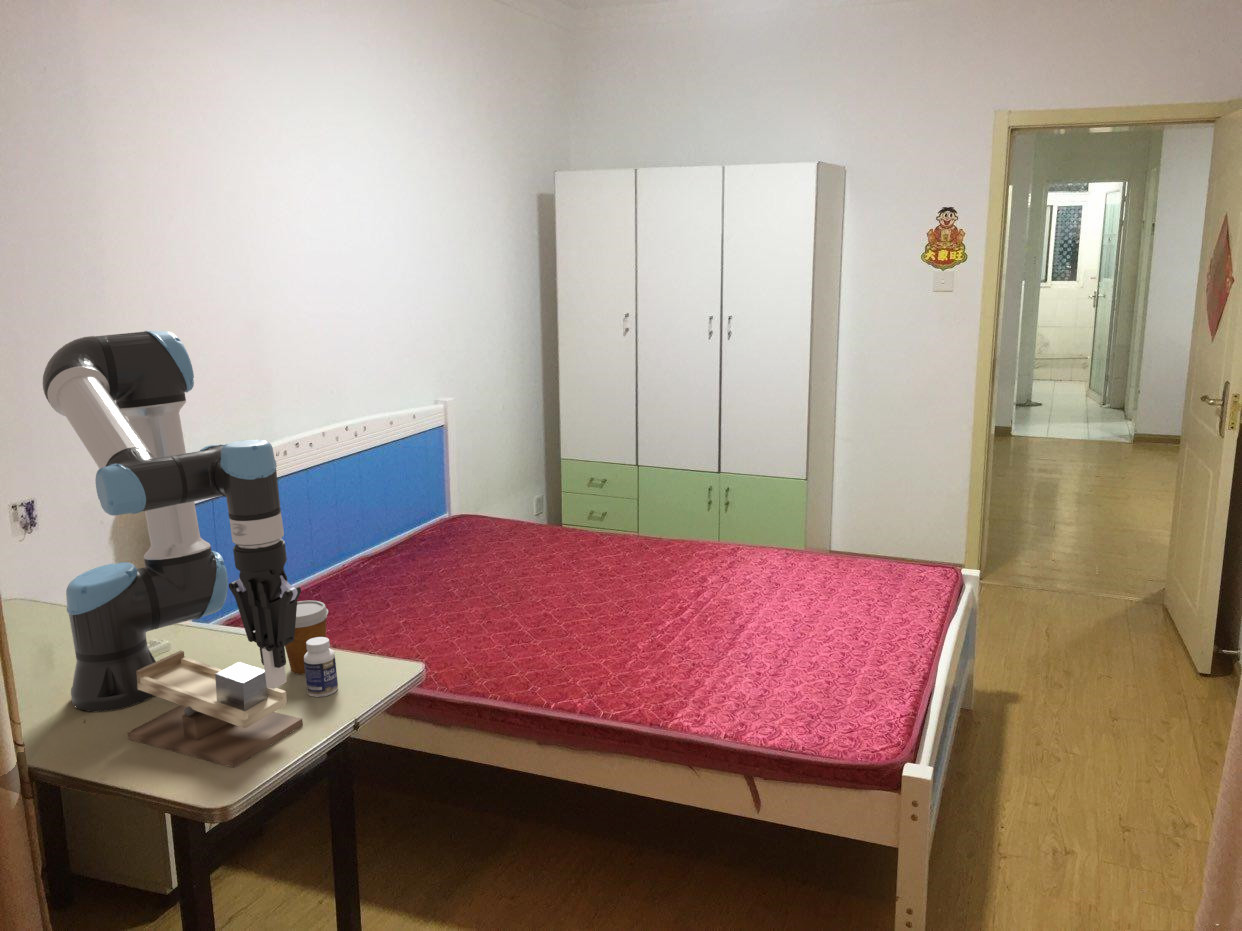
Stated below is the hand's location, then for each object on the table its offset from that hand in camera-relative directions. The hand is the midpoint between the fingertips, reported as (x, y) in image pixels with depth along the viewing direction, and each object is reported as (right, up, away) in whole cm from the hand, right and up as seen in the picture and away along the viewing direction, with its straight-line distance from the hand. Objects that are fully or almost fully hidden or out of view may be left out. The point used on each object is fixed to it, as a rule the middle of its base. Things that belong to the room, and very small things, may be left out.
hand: (276, 684), depth 160 cm
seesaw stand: (-13, -10, +9) cm, 19 cm away
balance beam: (-13, -4, +8) cm, 16 cm away
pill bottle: (0, -6, +23) cm, 24 cm away
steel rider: (-7, -4, +5) cm, 9 cm away
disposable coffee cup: (-5, -4, +34) cm, 34 cm away
